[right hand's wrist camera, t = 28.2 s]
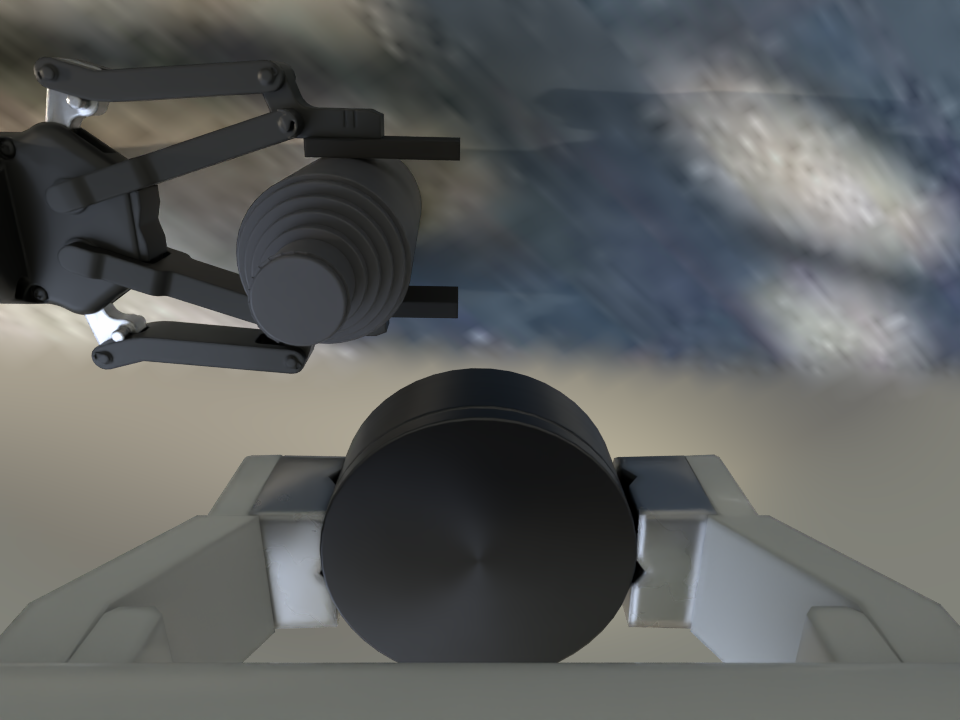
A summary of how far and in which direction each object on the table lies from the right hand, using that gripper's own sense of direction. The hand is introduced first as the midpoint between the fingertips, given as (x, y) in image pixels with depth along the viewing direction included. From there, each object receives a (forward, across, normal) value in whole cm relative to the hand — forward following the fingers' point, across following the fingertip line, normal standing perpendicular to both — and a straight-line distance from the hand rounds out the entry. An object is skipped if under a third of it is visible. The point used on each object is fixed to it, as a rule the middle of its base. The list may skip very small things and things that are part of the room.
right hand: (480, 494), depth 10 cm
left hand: (+22, +1, 0) cm, 22 cm away
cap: (-2, 0, 0) cm, 2 cm away
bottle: (+28, +6, 0) cm, 29 cm away
